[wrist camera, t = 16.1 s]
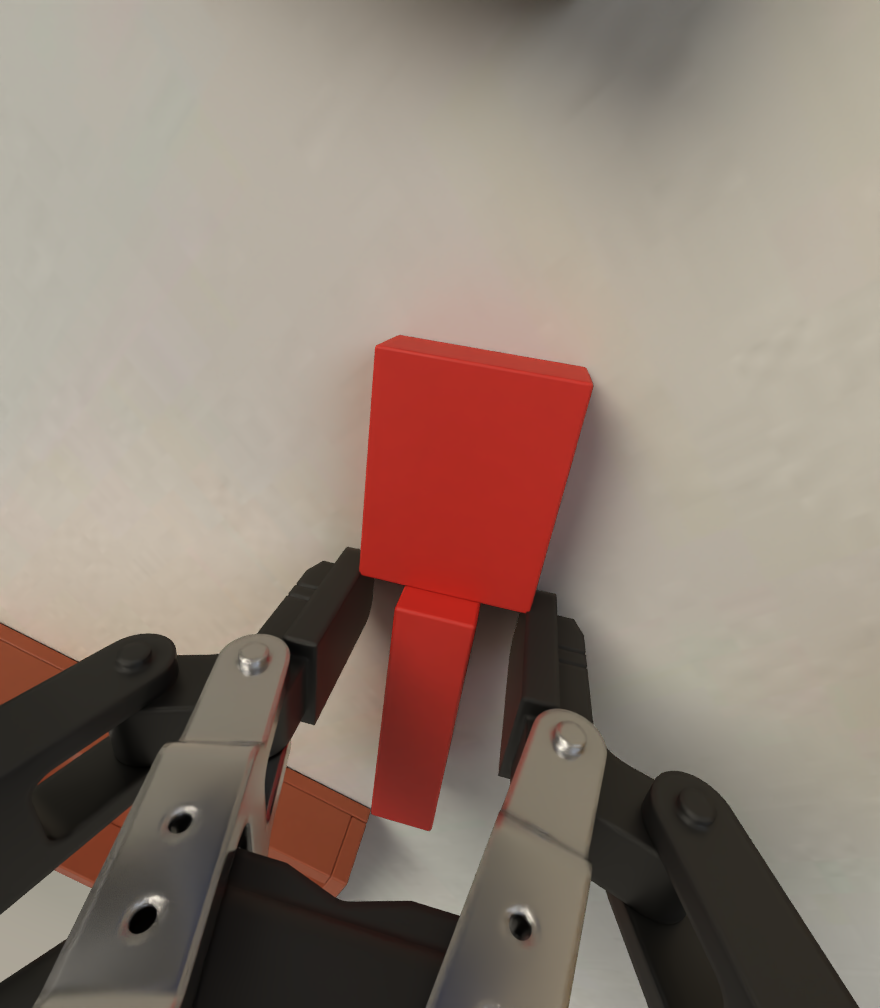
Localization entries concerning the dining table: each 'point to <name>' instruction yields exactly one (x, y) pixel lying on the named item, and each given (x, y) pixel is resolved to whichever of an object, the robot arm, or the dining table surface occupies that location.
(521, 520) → the red spoon
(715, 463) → the dining table surface
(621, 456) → the dining table surface
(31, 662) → the red tray
